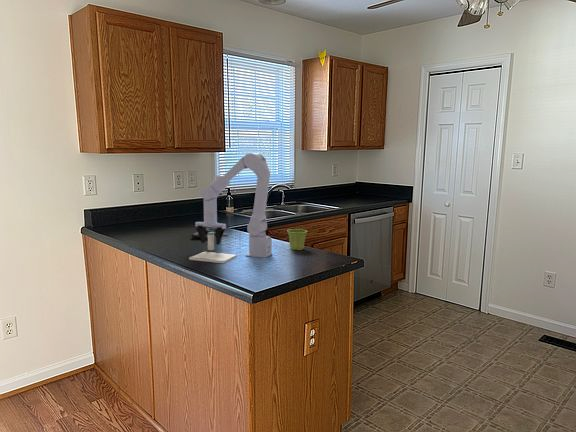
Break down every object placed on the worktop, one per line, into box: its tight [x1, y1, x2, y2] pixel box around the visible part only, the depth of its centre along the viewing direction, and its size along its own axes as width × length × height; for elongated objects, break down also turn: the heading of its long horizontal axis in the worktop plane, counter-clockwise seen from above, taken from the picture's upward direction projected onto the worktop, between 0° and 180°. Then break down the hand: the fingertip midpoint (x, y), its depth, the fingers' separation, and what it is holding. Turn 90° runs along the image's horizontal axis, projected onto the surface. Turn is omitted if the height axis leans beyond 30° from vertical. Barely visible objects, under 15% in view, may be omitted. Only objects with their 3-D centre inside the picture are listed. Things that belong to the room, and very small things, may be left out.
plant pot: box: [286, 228, 308, 251], centre depth 198 cm, size 9×9×9 cm
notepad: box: [188, 251, 238, 264], centre depth 180 cm, size 16×12×1 cm
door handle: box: [190, 227, 229, 241], centre depth 225 cm, size 3×20×16 cm
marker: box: [207, 232, 215, 253], centre depth 191 cm, size 3×3×9 cm
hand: (210, 243), depth 191 cm, fingers open, 7 cm apart
